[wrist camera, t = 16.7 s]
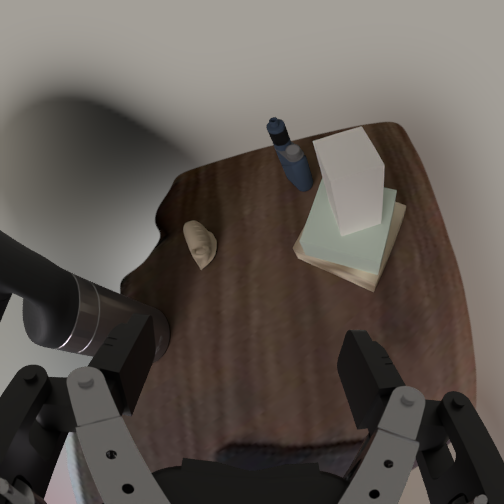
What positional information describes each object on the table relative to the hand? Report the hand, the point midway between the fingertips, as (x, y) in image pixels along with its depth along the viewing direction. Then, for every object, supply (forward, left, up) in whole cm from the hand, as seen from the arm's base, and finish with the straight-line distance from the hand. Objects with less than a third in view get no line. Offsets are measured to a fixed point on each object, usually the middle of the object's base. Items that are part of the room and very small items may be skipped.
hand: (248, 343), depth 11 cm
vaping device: (-14, +22, -25) cm, 36 cm away
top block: (-3, +15, -21) cm, 26 cm away
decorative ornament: (-22, +6, -25) cm, 34 cm away
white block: (-2, +16, -17) cm, 23 cm away
